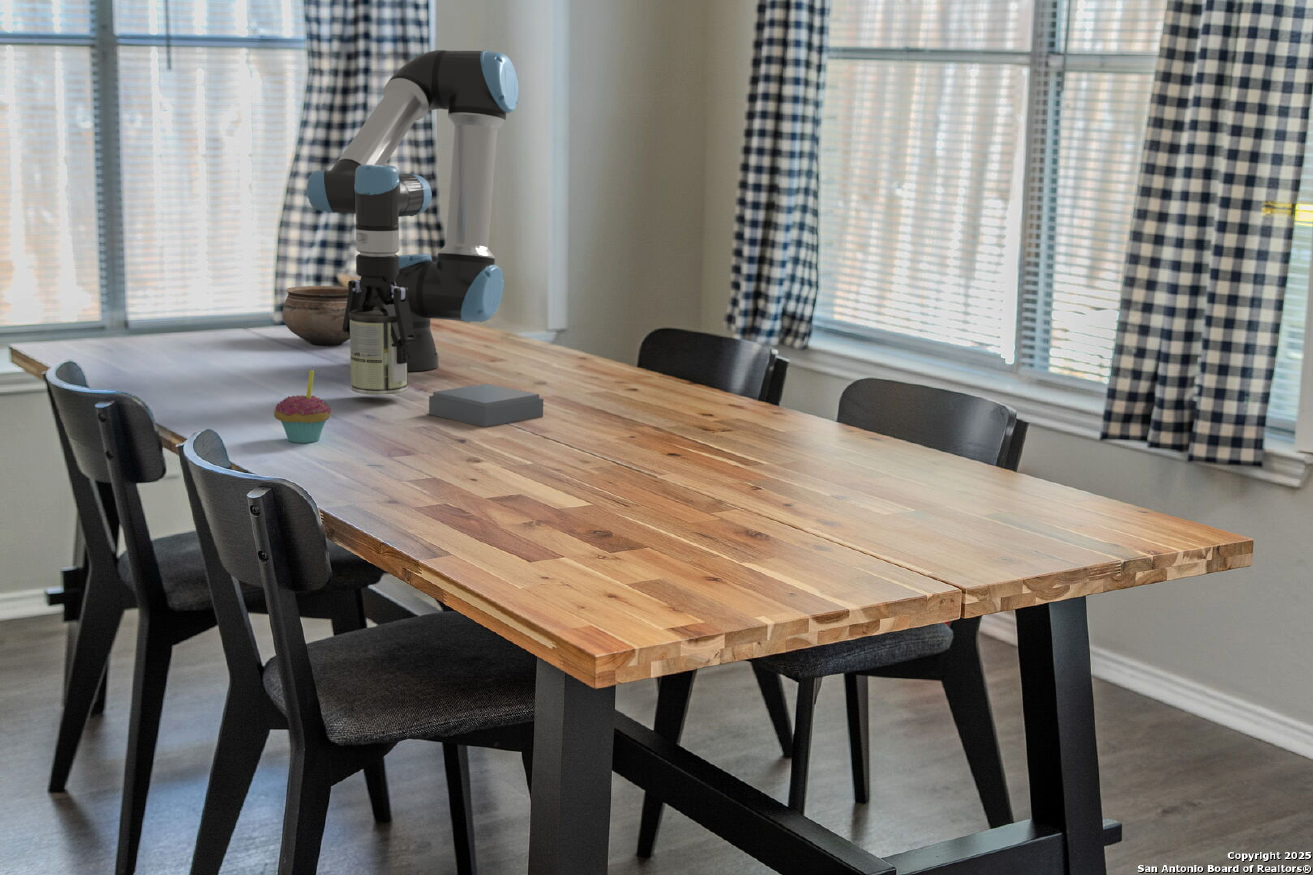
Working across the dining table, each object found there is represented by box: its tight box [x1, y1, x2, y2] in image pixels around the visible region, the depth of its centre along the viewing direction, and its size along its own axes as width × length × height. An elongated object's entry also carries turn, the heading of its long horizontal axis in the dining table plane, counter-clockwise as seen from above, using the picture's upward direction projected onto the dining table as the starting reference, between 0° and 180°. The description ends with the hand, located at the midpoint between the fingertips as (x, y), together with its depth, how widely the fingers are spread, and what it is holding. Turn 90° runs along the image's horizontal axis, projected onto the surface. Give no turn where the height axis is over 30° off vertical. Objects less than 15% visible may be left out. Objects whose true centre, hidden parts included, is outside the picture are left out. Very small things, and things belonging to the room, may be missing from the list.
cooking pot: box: [281, 285, 350, 347], centre depth 308 cm, size 25×19×12 cm
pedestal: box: [428, 383, 544, 428], centre depth 238 cm, size 14×14×4 cm
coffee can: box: [349, 308, 409, 396], centre depth 246 cm, size 10×10×14 cm
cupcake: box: [273, 365, 332, 444], centre depth 213 cm, size 9×8×12 cm
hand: (379, 376), depth 247 cm, fingers closed on coffee can, 10 cm apart
